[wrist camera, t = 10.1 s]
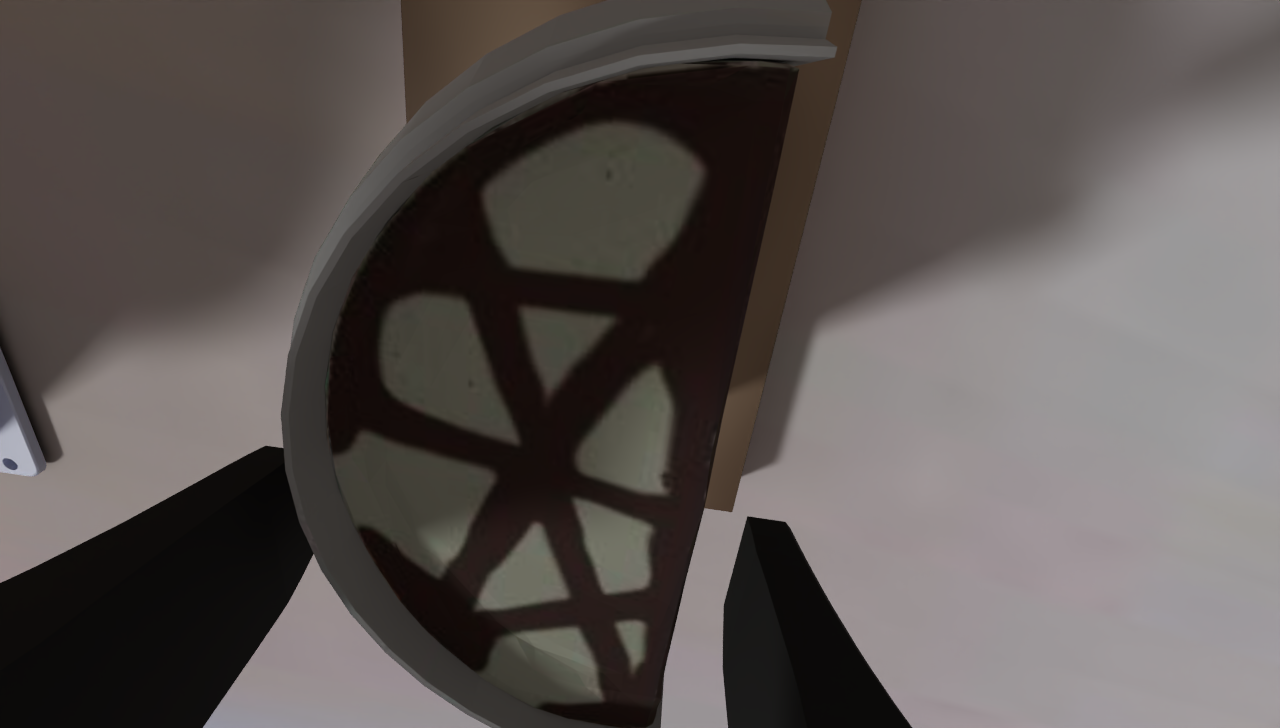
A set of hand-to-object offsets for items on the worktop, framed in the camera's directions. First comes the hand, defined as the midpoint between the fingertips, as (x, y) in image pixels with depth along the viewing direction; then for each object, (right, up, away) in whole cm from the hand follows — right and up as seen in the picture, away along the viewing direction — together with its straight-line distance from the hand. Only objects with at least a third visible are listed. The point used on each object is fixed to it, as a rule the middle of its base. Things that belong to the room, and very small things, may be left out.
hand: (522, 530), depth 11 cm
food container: (+1, +6, +7) cm, 9 cm away
